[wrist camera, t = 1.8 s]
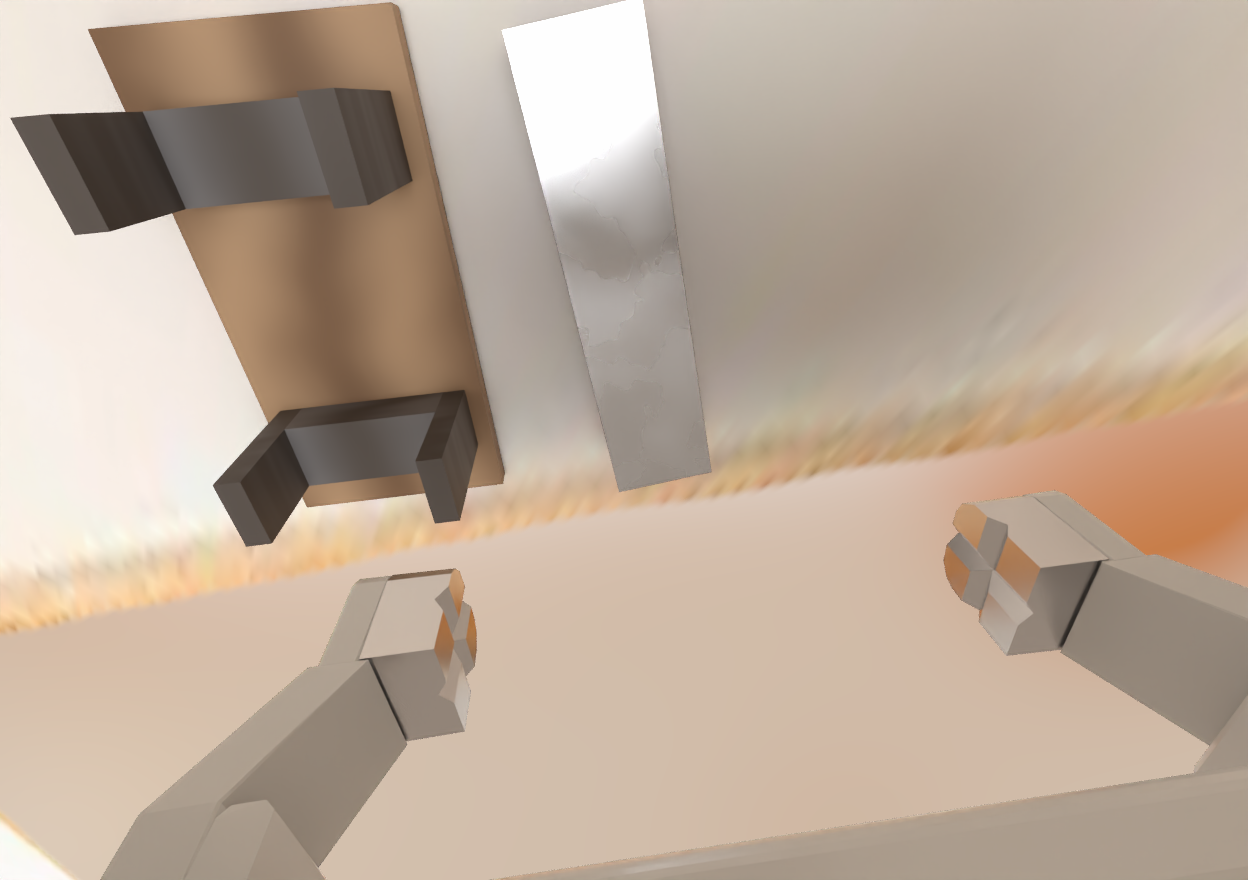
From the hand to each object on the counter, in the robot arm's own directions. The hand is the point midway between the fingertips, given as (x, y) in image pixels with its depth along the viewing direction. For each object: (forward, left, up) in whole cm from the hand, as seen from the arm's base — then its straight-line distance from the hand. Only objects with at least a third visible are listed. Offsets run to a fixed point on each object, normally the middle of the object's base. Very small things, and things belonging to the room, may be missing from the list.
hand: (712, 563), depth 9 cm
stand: (+12, 0, -19) cm, 22 cm away
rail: (0, 0, -19) cm, 19 cm away
